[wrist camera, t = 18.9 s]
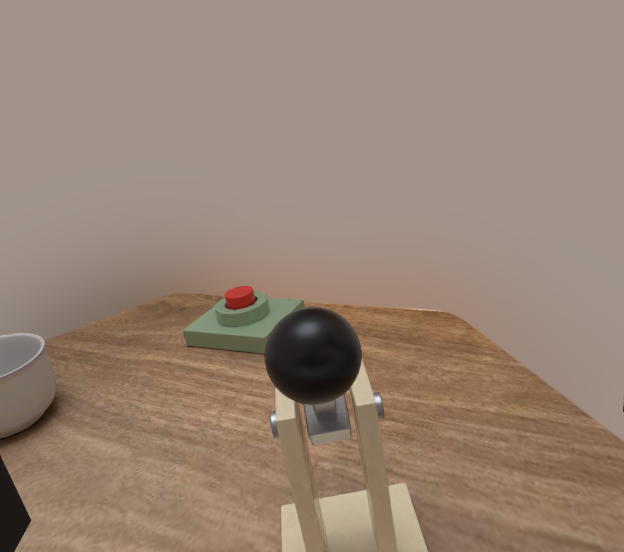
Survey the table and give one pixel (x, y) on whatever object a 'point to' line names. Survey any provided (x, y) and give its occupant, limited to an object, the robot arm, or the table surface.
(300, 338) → the lever
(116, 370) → the table surface
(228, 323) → the control block
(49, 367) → the teacup
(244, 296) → the button
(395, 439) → the table surface
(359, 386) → the bracket
